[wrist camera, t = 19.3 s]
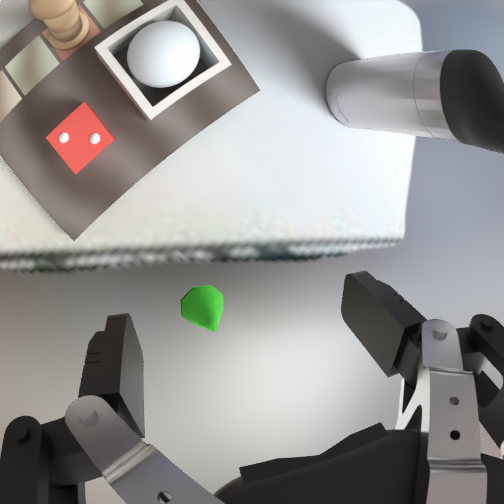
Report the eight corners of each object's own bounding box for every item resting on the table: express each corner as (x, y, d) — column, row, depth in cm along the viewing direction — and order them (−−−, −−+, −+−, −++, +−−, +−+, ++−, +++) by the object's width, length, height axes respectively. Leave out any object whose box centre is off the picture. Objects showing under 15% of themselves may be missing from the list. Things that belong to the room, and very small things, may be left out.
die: (90, 105, 24) (84, 101, 21) (116, 138, 27) (114, 139, 23) (57, 136, 24) (45, 137, 20) (82, 168, 26) (75, 174, 23)
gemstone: (189, 278, 37) (200, 304, 32) (232, 290, 40) (249, 315, 35) (172, 319, 38) (181, 348, 33) (214, 328, 41) (228, 356, 36)
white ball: (169, 21, 24) (180, -2, 18) (204, 68, 27) (222, 54, 21) (114, 57, 23) (111, 39, 18) (151, 104, 26) (156, 97, 21)
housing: (172, 9, 23) (179, -6, 20) (219, 71, 28) (231, 64, 24) (98, 57, 23) (94, 47, 19) (148, 121, 27) (150, 120, 24)
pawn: (76, 6, 19) (62, -45, 10) (97, 31, 21) (88, -15, 12) (42, 33, 19) (11, -8, 10) (62, 58, 21) (35, 24, 12)
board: (149, -47, 20) (150, -53, 19) (254, 91, 31) (260, 90, 30) (-34, 96, 19) (-40, 95, 17) (75, 236, 30) (73, 241, 28)
